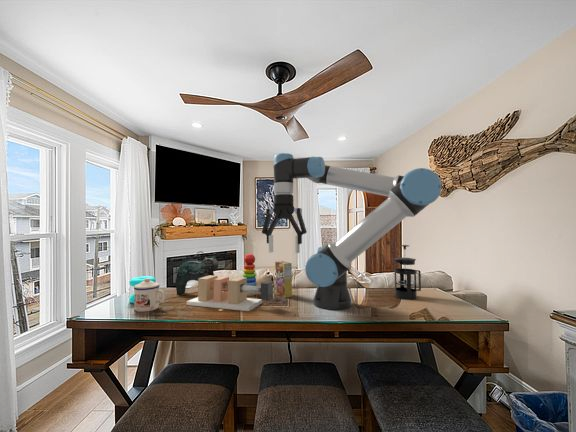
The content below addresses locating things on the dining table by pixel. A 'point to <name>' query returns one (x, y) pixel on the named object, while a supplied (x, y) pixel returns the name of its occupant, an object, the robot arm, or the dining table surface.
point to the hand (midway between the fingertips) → (284, 252)
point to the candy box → (283, 278)
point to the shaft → (257, 289)
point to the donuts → (137, 281)
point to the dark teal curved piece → (194, 271)
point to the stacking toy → (250, 272)
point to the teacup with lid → (147, 296)
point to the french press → (402, 291)
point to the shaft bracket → (223, 294)
